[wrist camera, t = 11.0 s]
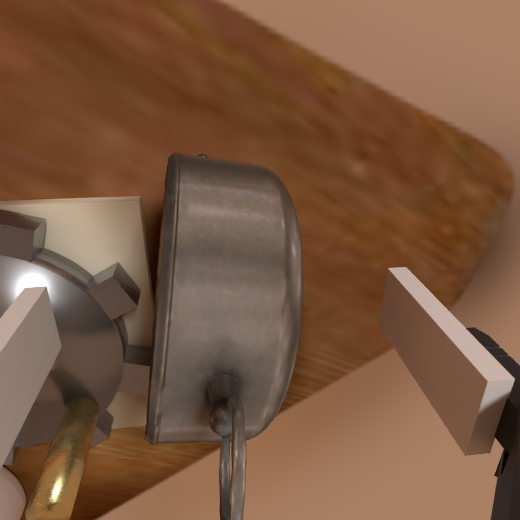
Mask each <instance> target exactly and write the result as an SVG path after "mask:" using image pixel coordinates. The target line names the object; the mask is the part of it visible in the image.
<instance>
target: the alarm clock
mask: <svg viewBox="0 0 520 520" xmlns="http://www.w3.org/2000/svg"><path fill="white" fill-rule="evenodd" d="M302 307H303V256H302V246H301V237H300V231H299V226H298V221H297V216H296V212H295V209H294V206H293V202H292V199H291V197H290V195H289V193H288V191H287V189H286V187H285V186H284V184H283V182H282V181H281V180H280V179H279V178H278V176H276V175H275V174H274V173H273V172H272V171H271V170H269V169H268V168H266V167H264V166H261V165H254V164H248V163H241V162H235V161H228V160H221V159H214V158H208V157H207V156H206V155H204V154H200V155H197V156H192V155H185V154H179V153H174V154H172V155H171V156H170V157H169V159H168V165H167V172H166V179H165V194H164V202H163V210H162V221H161V233H160V244H159V256H158V268H157V282H156V293H155V306H154V319H153V331H152V344H151V359H150V372H149V389H148V402H147V417H146V419H147V422H146V432H145V435H146V436H145V440H147V441H148V442H149V443H150V444H152V445H154V444H157V443H178V442H220V441H222V442H221V450H220V468H219V482H220V520H243V510H244V498H245V476H246V440H249V439H251V438H253V437H255V436H257V435H259V434H260V433H261V432H262V431H264V430H265V429H266V428H267V426H268V425H269V424H270V423H271V422H272V421H273V419H274V418H275V416H276V415H277V413H278V411H279V409H280V407H281V405H282V403H283V401H284V399H285V396H286V393H287V390H288V387H289V384H290V381H291V377H292V373H293V369H294V366H295V361H296V356H297V351H298V345H299V338H300V329H301V321H302ZM230 441H232V475H231V484H230V474H229V456H230ZM230 493H231V506H230Z"/></svg>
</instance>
